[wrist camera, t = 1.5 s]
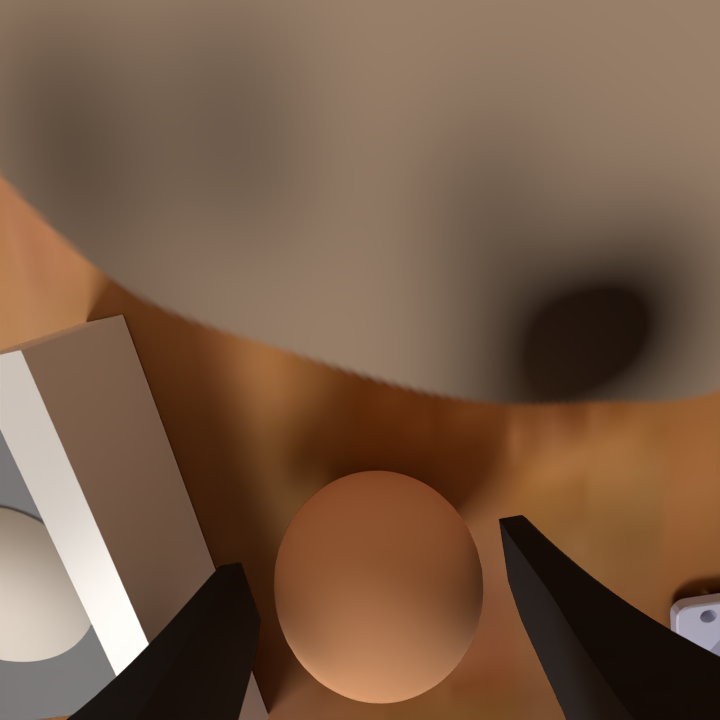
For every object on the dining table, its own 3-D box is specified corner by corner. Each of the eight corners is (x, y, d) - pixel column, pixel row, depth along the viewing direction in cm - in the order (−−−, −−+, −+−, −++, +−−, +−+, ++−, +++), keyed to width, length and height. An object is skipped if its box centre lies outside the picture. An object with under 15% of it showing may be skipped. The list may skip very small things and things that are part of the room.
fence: (122, 314, 13) (20, 349, 9) (268, 715, 18) (239, 852, 14) (84, 322, 13) (-33, 361, 10) (238, 719, 18) (201, 856, 14)
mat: (81, 391, 14) (69, 398, 13) (200, 684, 17) (194, 700, 17) (-204, 449, 15) (-227, 458, 14) (-39, 718, 18) (-52, 734, 17)
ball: (446, 422, 14) (491, 541, 9) (472, 569, 15) (524, 747, 10) (274, 454, 14) (216, 585, 9) (315, 594, 16) (286, 777, 11)
